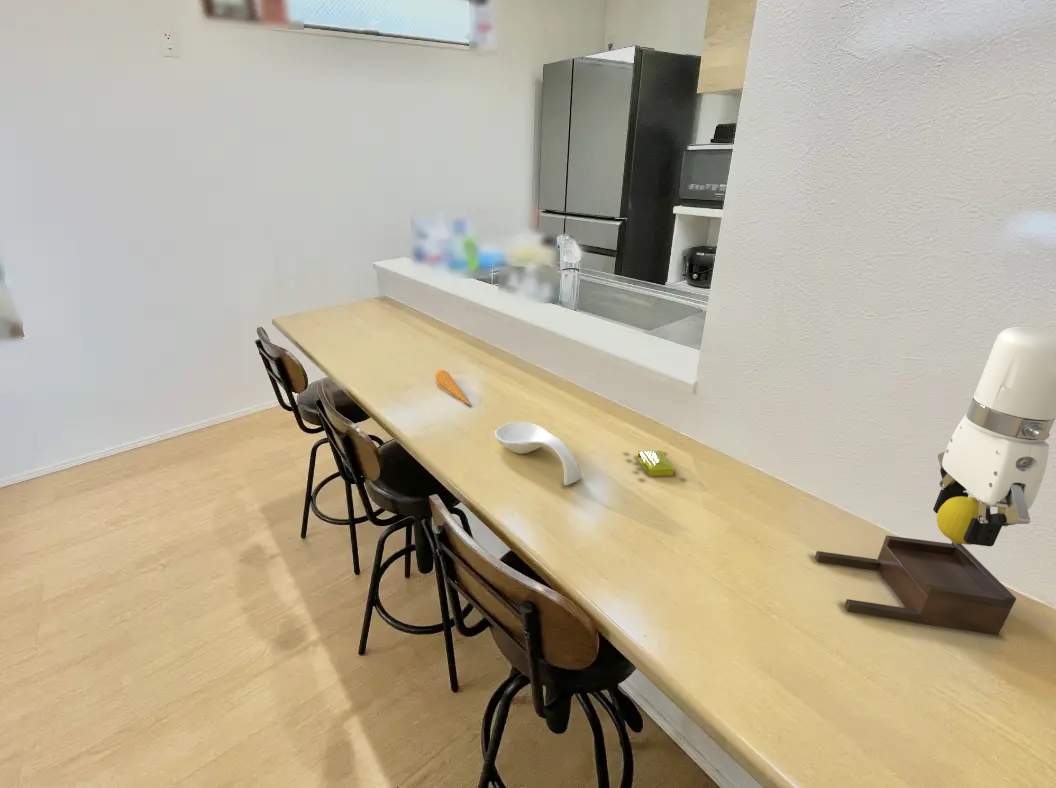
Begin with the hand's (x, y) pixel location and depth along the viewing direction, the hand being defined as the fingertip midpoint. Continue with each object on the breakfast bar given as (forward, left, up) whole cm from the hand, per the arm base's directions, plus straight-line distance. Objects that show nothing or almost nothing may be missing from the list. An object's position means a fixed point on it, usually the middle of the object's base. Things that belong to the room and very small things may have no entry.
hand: (961, 527), depth 72 cm
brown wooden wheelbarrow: (+4, 0, -14) cm, 14 cm away
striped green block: (+37, -28, -14) cm, 48 cm away
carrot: (+89, -55, -14) cm, 106 cm away
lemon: (0, 0, -3) cm, 3 cm away
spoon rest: (+63, -26, -14) cm, 69 cm away
